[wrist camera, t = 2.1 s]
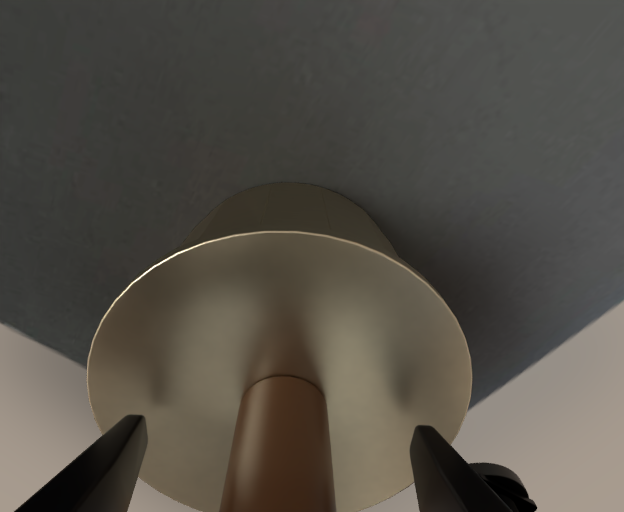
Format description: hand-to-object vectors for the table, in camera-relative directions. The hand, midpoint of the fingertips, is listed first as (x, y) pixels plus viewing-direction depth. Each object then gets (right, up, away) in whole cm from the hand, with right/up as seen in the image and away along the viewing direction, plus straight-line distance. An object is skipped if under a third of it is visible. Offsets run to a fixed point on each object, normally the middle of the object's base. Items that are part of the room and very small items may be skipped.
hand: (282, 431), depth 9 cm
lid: (0, 0, +1) cm, 1 cm away
